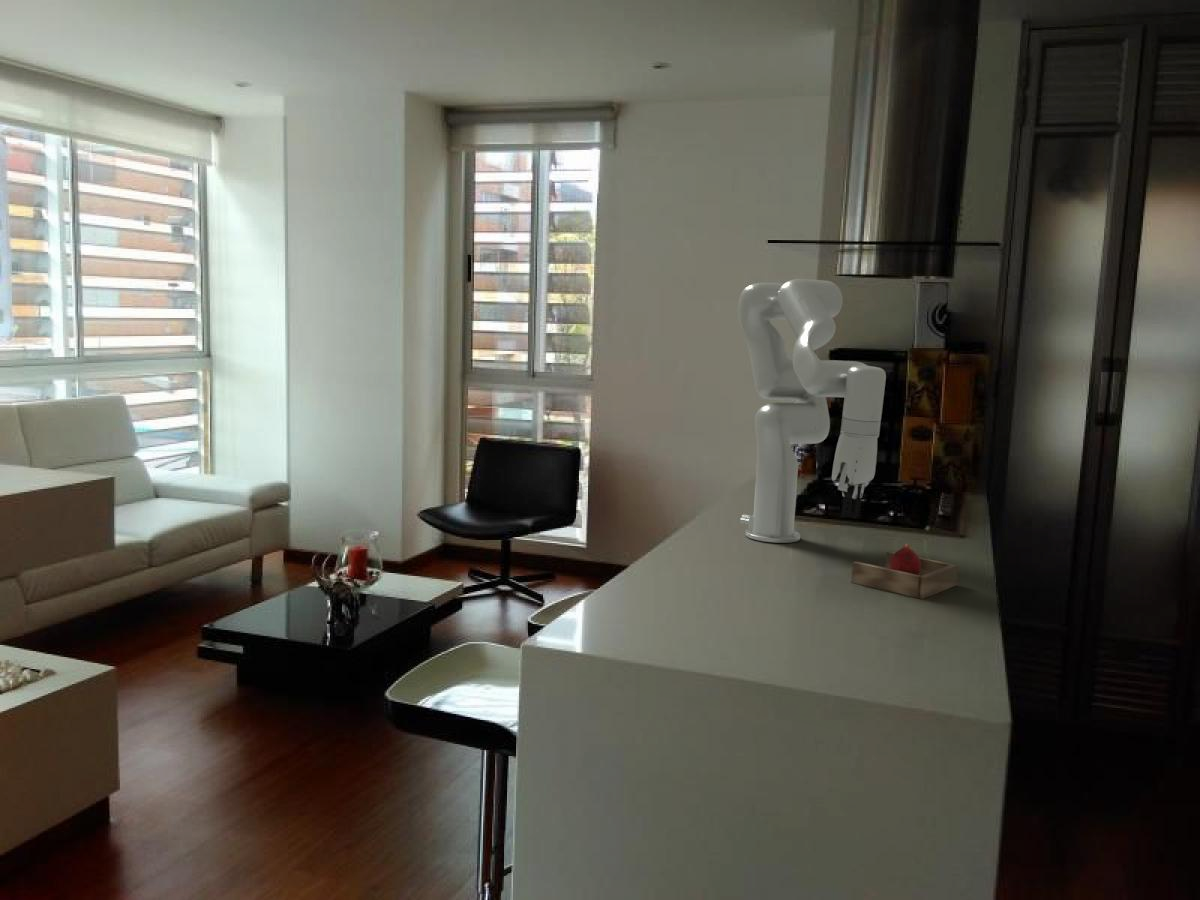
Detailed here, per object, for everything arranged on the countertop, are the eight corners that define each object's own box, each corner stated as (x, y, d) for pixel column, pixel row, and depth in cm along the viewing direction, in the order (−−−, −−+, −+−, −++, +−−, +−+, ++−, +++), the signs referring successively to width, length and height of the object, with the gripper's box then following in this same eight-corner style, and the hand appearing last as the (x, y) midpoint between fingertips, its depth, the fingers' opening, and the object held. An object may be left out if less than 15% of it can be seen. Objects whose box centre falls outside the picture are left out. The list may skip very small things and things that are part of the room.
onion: (919, 589, 184) (923, 548, 183) (888, 585, 186) (891, 545, 185) (918, 581, 190) (921, 542, 189) (888, 578, 191) (891, 539, 190)
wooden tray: (851, 582, 187) (852, 562, 187) (887, 569, 198) (888, 551, 198) (922, 599, 178) (924, 578, 177) (956, 585, 189) (958, 565, 188)
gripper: (861, 422, 200) (851, 507, 204) (824, 427, 189) (815, 517, 193) (894, 427, 195) (884, 514, 199) (859, 433, 184) (848, 526, 188)
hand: (850, 516), depth 196 cm, fingers closed
